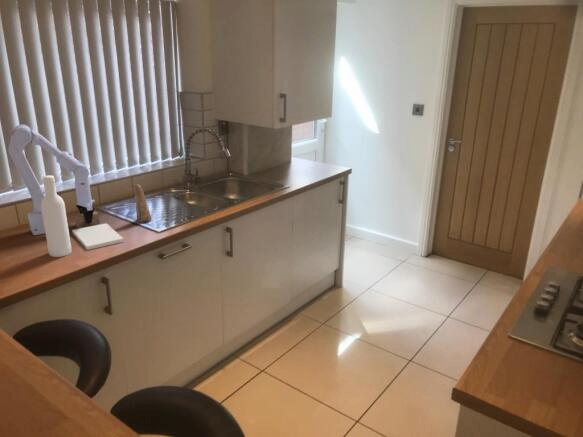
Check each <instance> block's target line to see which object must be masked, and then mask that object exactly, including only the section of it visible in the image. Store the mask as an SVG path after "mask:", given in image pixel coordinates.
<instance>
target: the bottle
mask: <svg viewBox="0 0 583 437" xmlns="http://www.w3.org/2000/svg"><path fill="white" fill-rule="evenodd" d="M42 183H43V186H44V192H45V194H46V196H45V197H44V198H43V199H42V202H41V209H42V215H43V221H44V227H45V233H44V234H45V238H46V243H47V251H48V252H47V253H48V254H49V256H50V257H53V258H62V257H65V256H68V255H70V254H71V253H72V251H73V250H72V243H71V238H70V232H69V231H70V230H69V226H68V225H69V224H68V218H67V211H66V204H65V201H64V199H63V198H62V197H61V196H60V195H59V194H57V187H56V179H55V176H54V175H44V176H43V177H42Z"/></svg>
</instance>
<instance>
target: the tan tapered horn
mask: <svg viewBox="0 0 583 437" xmlns="http://www.w3.org/2000/svg"><path fill="white" fill-rule="evenodd" d="M133 192H134V201H135V212H136V220H137V222H138V223H148V222H151V221H152V214H151V213H150V210H149V207H148V204H147V200H146V198H145V193H144V190H143V188H142V186H141V184H140V183H135V184H134V189H133Z"/></svg>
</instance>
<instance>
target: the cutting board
mask: <svg viewBox="0 0 583 437" xmlns="http://www.w3.org/2000/svg"><path fill="white" fill-rule="evenodd" d="M71 232H72V234H73V235H74V236H75V238H76V239H77V240H78V241H79V242H80V243H81V244H82V246H83V247H84V248H85V249H86V250H87V251H89V250H94V249H99V248H102V247H103V248H104V247H106V246H112V245H116V244H120V243H124V242H125V241H124V240H125V239H124V237H122V236H121V235H120V234H119V233H118V232H117V231H116V230H115V229H113V228H112V227H111V226H110V225H109V224H108V223H100V224H97V225H92V226H87V227H82V228H76V229H72V231H71Z"/></svg>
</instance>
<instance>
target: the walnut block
mask: <svg viewBox="0 0 583 437" xmlns="http://www.w3.org/2000/svg"><path fill="white" fill-rule="evenodd" d="M73 216H74V222H75V227H76V228H77V229H80V228H85V227H90V226H95V225H100V224H101V222H100V215H99V212H97V211H96V210H94V212H93V216H92V223H89V224H86V222H85V218H84V215H83V213H82V214H80V213H78V214H74V215H73Z"/></svg>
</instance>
